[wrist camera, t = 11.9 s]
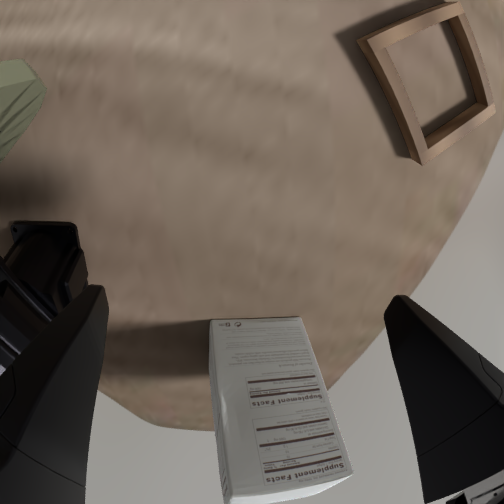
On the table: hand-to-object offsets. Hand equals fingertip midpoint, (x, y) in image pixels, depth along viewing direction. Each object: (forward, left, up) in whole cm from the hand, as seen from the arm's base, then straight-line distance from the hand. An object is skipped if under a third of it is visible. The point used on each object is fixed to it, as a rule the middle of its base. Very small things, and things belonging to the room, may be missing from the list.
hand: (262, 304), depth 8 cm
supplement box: (+5, -20, -13) cm, 24 cm away
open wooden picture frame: (+14, +10, -13) cm, 22 cm away
